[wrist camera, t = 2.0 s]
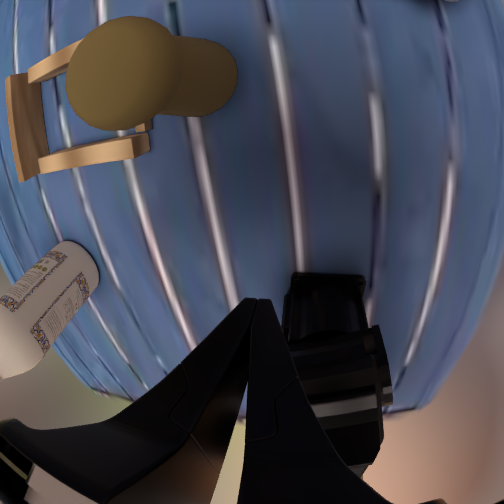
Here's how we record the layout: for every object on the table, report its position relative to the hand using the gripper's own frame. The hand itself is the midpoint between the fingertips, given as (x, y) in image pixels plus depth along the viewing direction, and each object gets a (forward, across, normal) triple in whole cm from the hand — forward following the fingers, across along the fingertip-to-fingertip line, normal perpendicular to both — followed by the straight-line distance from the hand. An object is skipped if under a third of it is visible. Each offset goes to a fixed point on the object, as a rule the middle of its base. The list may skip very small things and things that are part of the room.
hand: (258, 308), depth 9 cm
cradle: (+13, +16, -8) cm, 23 cm away
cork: (+13, +6, -8) cm, 17 cm away
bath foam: (+13, +23, +9) cm, 28 cm away
